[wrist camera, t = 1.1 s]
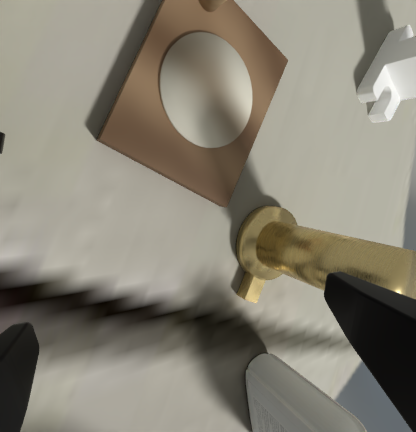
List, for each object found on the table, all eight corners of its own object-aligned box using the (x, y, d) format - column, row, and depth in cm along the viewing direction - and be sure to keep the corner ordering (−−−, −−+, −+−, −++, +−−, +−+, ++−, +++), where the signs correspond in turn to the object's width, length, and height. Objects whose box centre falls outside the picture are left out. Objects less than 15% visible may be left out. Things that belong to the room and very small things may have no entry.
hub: (254, 193, 27) (401, 211, 16) (298, 221, 31) (441, 250, 20) (215, 287, 26) (344, 369, 16) (266, 304, 30) (397, 378, 19)
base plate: (219, 206, 25) (259, 214, 21) (96, 140, 19) (116, 132, 15) (279, 63, 26) (328, 44, 22) (181, -41, 20) (222, -95, 16)
